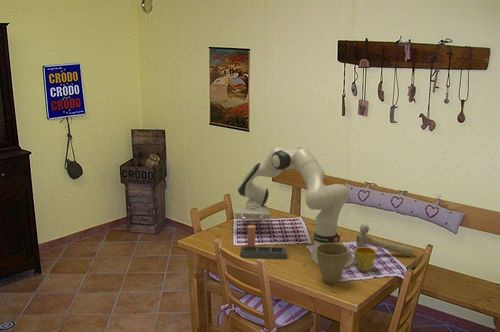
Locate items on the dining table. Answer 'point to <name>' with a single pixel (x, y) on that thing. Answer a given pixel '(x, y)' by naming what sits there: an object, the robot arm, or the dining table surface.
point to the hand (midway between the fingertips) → (251, 219)
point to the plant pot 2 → (365, 258)
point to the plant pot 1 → (331, 261)
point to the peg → (251, 235)
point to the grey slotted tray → (263, 252)
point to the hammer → (381, 243)
